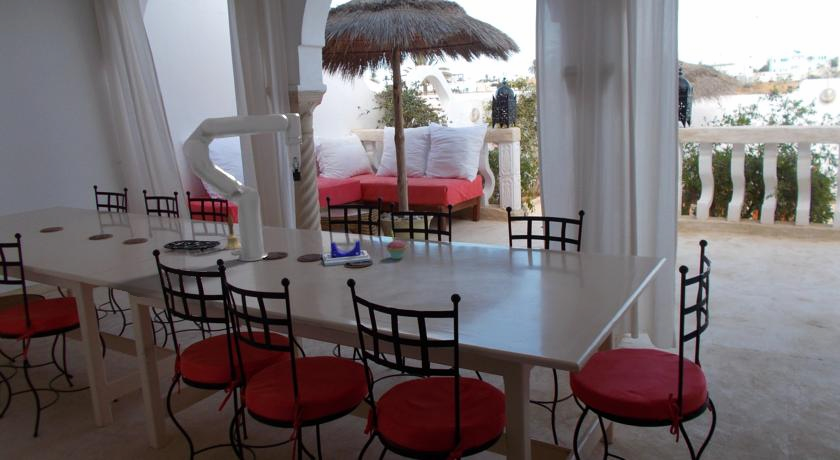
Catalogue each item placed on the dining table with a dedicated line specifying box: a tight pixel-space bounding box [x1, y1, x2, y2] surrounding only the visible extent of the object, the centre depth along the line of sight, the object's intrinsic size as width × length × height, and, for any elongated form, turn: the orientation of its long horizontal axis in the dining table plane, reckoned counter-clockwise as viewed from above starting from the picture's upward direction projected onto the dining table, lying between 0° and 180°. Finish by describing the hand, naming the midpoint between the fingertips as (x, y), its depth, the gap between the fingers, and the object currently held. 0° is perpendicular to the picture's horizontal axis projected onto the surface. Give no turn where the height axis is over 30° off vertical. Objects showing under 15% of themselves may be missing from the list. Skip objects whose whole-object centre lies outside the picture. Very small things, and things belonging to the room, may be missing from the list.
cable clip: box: [330, 240, 361, 258], centre depth 273 cm, size 12×4×6 cm, turn 91°
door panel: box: [321, 249, 372, 267], centre depth 273 cm, size 19×16×2 cm
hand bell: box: [224, 214, 241, 251], centre depth 305 cm, size 8×8×16 cm
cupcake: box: [386, 230, 407, 260], centre depth 271 cm, size 9×8×12 cm
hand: (296, 179), depth 289 cm, fingers open, 9 cm apart
